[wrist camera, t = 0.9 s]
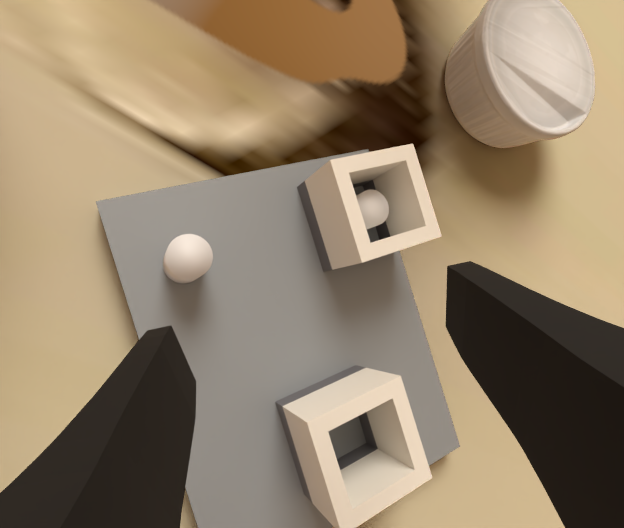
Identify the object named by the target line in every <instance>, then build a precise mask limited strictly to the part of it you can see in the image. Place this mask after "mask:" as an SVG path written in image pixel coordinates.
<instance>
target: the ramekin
mask: <svg viewBox="0 0 624 528" xmlns="http://www.w3.org/2000/svg"><path fill="white" fill-rule="evenodd" d="M445 89H446V94H447V98H448V102H449V104H450V107H451V109H452V112H453V114H454V115H455V117H456V119H457V120H458V122H459V123H460V125H461V126H462V127H463V128H464V129H465V130H466V131H467V132H468V133H469V134H470V135H471V136H472V137H473V138H475V139H476V140H478V141H480V142H482V143H484V144H487V145H489V146H492V147H497V148H508V147H516V146H520V145H524V144H529V143H532V142H536V141H539V140H551V139H556V138H559V137H562V136H565V135H567V134H569V133H571V132H573V131H574V130H576V129H577V128H578V127H580V126H581V125H582V123H583V122H584V121H585V119H586V118H587V116H588V114H589V112H590V110H591V107H592V104H593V100H594V94H595V72H594V66H593V61H592V57H591V53H590V50H589V47H588V44H587V42H586V39H585V37H584V35H583V33H582V31H581V29H580V27H579V25H578V24H577V22H576V20H575V19H574V17H573V16H572V14H571V13H570V12H569V11H568V9H567V8H566V7H565V6H564V5H563V4H562V3H561V2H560V1H559V0H488V1H487V3H486V4H485V5H484V7H483V8H482V10H481V12H480V14H479V16H478V17H477V18H476V19H475V20H474V21H473V22H472V24H471V25H470V26H469V27H468V28H467V30H466V31H465V32H464V33H463V34H462V35H461V37H460V38H459V39H458V40H457V41H456V43H455V44H454V46H453V48H452V49H451V51H450V54H449V56H448V59H447V64H446V70H445Z"/></svg>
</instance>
